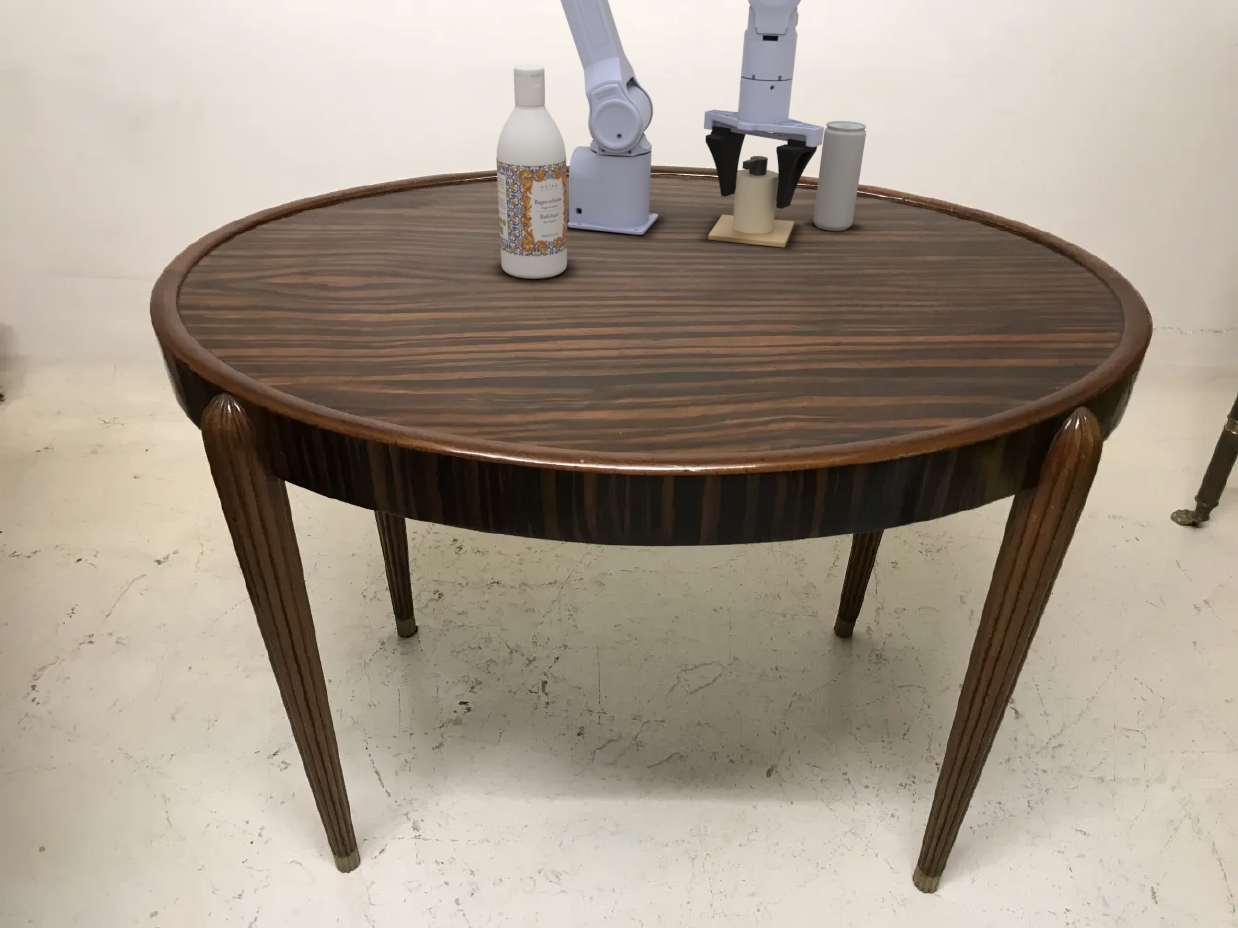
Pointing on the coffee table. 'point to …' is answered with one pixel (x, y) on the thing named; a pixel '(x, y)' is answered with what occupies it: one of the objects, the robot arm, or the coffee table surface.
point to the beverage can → (839, 175)
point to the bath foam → (532, 183)
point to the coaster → (773, 238)
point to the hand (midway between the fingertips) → (755, 200)
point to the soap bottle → (755, 197)
